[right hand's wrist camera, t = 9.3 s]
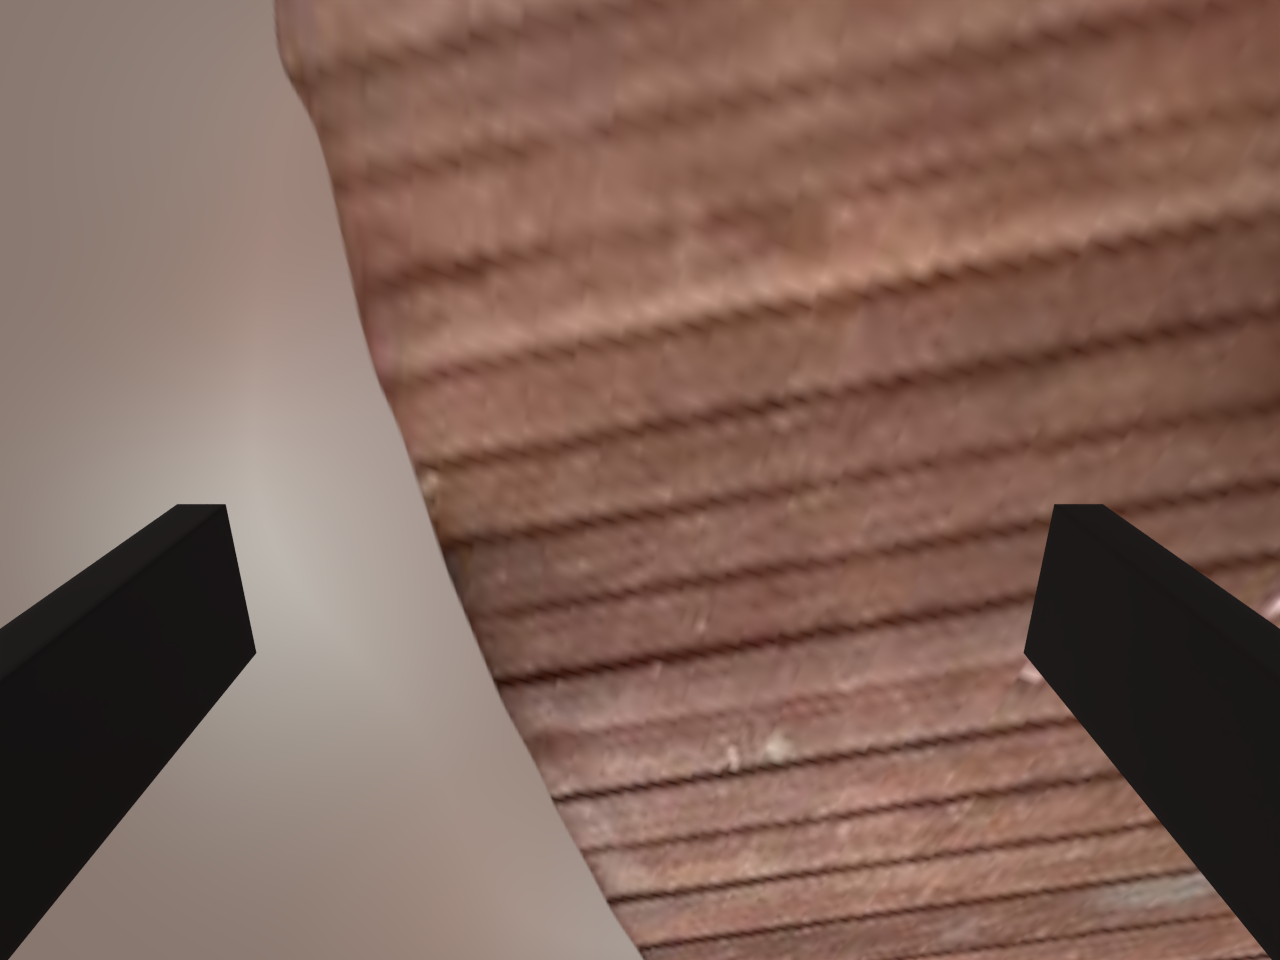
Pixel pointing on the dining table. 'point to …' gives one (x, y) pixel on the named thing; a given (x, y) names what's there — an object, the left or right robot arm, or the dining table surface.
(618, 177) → the dining table surface
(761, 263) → the dining table surface
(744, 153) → the dining table surface
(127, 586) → the right robot arm
